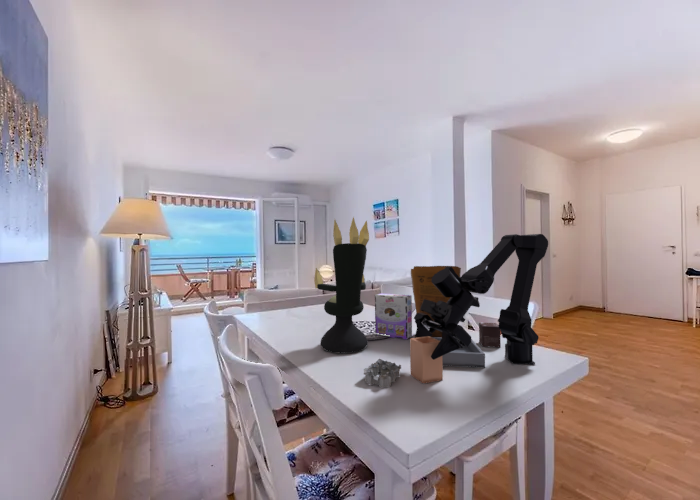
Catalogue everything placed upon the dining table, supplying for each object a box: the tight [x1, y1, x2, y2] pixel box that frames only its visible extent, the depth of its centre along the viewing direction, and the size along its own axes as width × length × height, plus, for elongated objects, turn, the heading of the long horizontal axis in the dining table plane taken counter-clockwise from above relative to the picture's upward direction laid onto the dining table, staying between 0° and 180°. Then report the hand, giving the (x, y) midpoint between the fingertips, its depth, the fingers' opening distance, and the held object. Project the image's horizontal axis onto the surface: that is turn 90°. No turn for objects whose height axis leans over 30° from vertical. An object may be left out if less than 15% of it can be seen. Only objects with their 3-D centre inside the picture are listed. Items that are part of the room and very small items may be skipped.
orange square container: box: [409, 336, 444, 385], centre depth 83 cm, size 6×6×10 cm
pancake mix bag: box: [410, 265, 462, 337], centre depth 122 cm, size 7×19×28 cm, turn 55°
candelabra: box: [313, 216, 370, 354], centre depth 108 cm, size 19×22×45 cm
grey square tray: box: [432, 337, 486, 369], centre depth 99 cm, size 16×16×4 cm
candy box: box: [374, 292, 413, 341], centre depth 124 cm, size 14×6×16 cm, turn 58°
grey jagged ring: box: [363, 357, 402, 389], centre depth 83 cm, size 11×8×4 cm
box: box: [478, 322, 501, 348], centre depth 112 cm, size 6×6×7 cm
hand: (421, 352), depth 83 cm, fingers open, 9 cm apart
